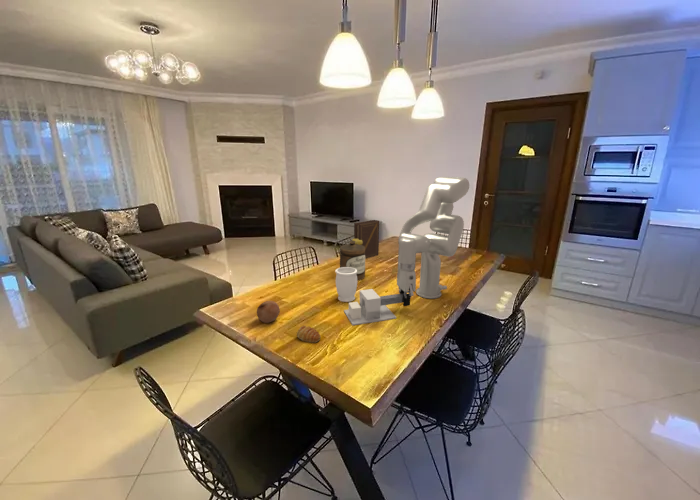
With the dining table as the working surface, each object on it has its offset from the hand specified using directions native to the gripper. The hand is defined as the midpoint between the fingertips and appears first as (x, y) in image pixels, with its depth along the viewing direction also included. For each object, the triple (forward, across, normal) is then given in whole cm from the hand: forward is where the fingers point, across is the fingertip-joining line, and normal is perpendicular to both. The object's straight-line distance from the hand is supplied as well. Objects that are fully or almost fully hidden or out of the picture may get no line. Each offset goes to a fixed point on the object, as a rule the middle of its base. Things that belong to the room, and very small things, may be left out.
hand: (404, 303), depth 140 cm
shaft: (-1, 0, +9) cm, 9 cm away
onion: (+3, +8, +60) cm, 61 cm away
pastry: (+4, -10, +46) cm, 47 cm away
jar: (+3, +19, +22) cm, 29 cm away
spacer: (0, 0, +22) cm, 22 cm away
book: (+3, +81, -11) cm, 82 cm away
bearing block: (+3, 0, +17) cm, 17 cm away
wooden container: (+4, +47, +10) cm, 48 cm away
